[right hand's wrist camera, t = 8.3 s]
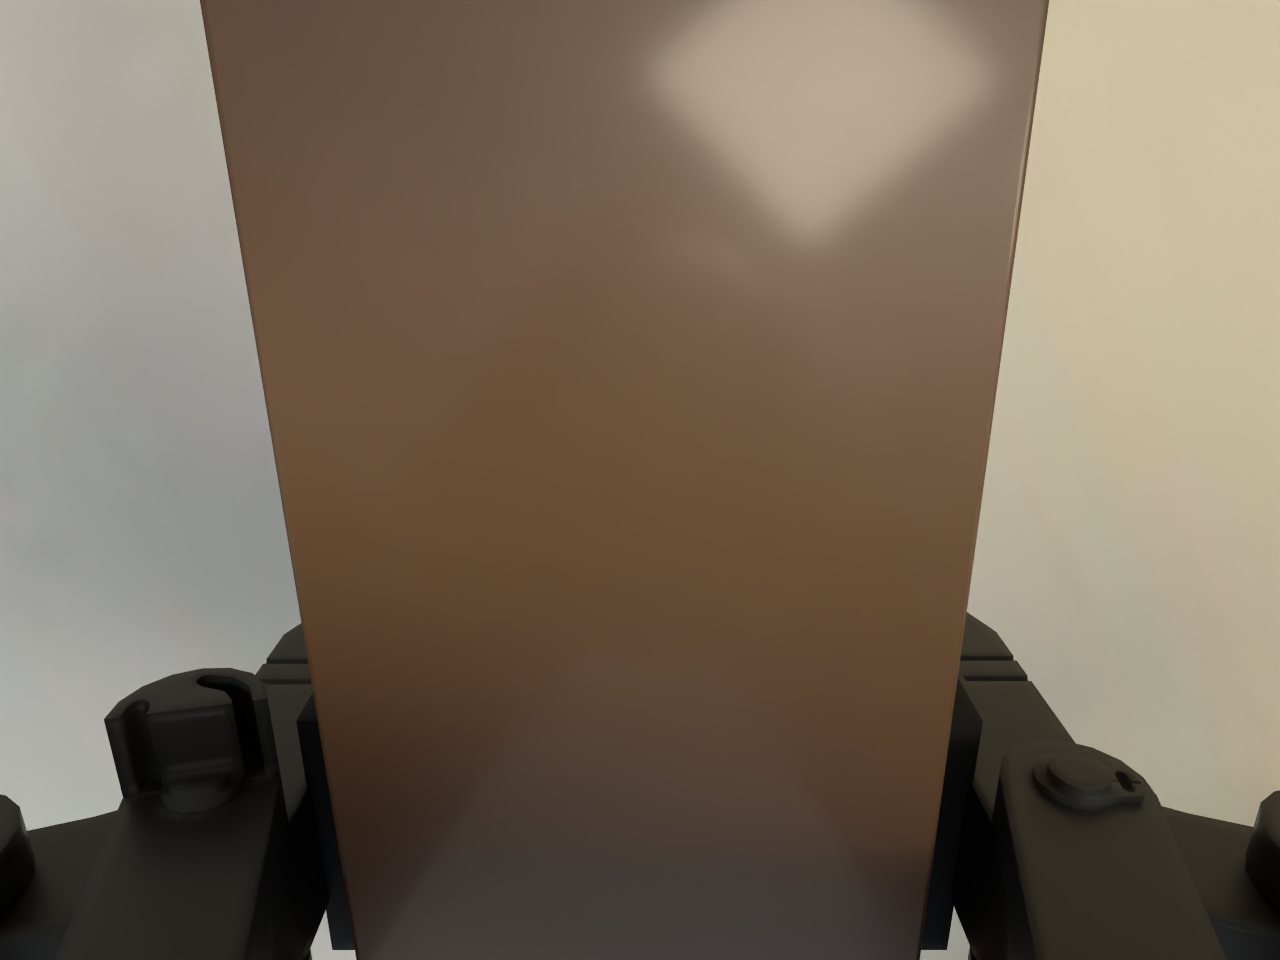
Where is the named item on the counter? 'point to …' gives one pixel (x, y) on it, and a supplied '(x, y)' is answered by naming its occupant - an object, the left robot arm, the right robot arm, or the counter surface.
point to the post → (630, 447)
